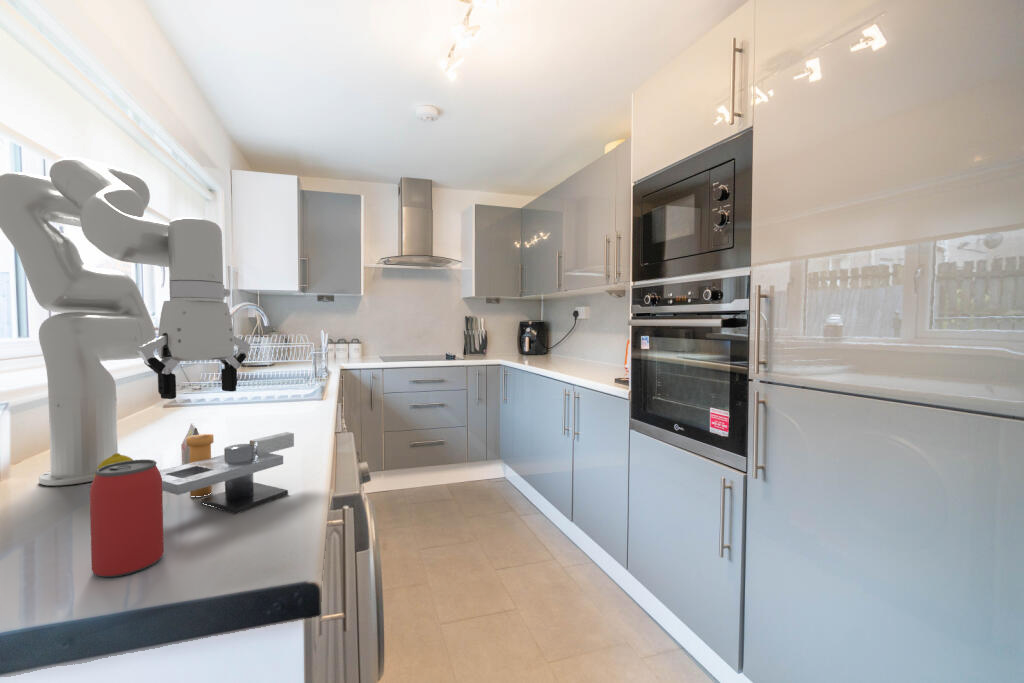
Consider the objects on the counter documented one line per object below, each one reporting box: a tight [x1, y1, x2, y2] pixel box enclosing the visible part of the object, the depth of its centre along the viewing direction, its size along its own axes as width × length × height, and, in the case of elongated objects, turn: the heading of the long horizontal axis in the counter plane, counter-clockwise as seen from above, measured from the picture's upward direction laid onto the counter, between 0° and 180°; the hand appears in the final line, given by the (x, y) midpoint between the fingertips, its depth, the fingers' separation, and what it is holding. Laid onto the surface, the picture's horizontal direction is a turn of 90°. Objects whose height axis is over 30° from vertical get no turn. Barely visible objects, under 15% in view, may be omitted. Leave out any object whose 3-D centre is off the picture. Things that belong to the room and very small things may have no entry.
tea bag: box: [181, 422, 200, 465], centre depth 87 cm, size 4×7×10 cm, turn 40°
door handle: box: [159, 431, 295, 515], centre depth 73 cm, size 10×21×9 cm, turn 153°
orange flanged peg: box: [186, 433, 215, 497], centre depth 78 cm, size 4×4×10 cm
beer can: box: [89, 459, 165, 578], centre depth 54 cm, size 7×7×12 cm
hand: (200, 394), depth 77 cm, fingers open, 9 cm apart
